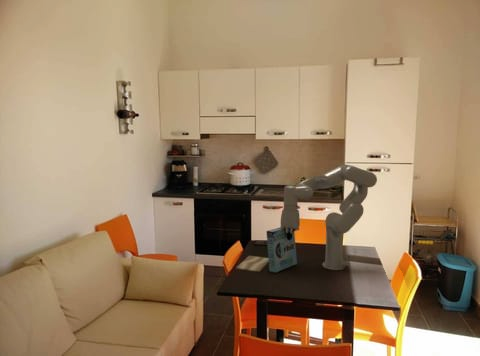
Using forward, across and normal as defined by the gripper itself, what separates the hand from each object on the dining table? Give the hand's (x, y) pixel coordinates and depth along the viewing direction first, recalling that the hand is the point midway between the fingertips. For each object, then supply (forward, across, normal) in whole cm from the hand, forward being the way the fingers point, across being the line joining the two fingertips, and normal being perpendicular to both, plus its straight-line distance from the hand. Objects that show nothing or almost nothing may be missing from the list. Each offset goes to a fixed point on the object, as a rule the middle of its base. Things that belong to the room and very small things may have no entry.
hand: (289, 239), depth 208 cm
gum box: (+17, +3, 0) cm, 17 cm away
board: (+18, +21, 0) cm, 27 cm away
